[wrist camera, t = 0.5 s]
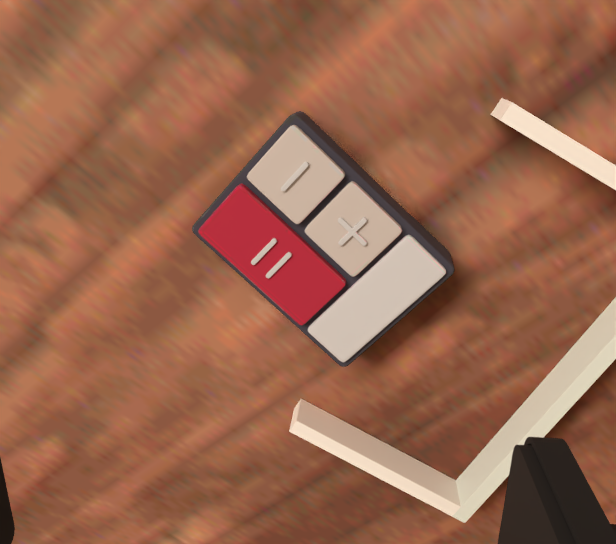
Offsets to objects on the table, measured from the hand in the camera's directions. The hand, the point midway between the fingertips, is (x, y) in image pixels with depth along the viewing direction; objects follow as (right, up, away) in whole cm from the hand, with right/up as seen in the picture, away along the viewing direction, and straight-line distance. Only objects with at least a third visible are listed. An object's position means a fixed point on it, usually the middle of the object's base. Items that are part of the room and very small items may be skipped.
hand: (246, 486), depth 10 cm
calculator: (+2, +7, +32) cm, 33 cm away
